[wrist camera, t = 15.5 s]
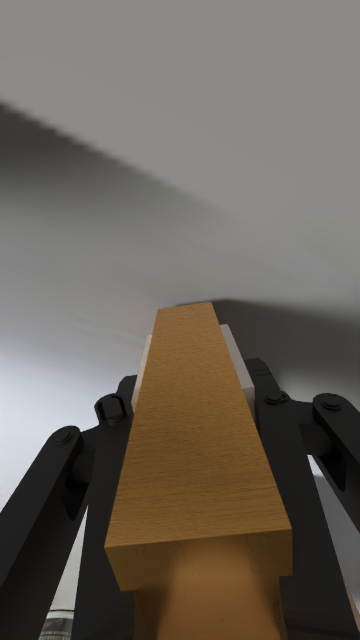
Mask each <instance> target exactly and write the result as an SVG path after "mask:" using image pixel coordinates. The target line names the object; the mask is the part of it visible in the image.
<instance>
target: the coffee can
mask: <svg viewBox="0 0 360 640" xmlns="http://www.w3.org/2000/svg"><path fill="white" fill-rule="evenodd" d="M73 616H74V611H65V610H57V611H49V612H48V615H47V618H46V620H45V623H44V626H43V628H42V631H41V634H40V637H39V639H38V640H70V638H71V631H72V623H73Z"/></svg>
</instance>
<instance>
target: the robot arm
mask: <svg viewBox="0 0 360 640" xmlns="http://www.w3.org/2000/svg"><path fill="white" fill-rule="evenodd" d="M220 328H221V331H222V333H223V336H224V339H225V342H226V345H227V347H228V350H229V353H230V356H231V359H232V362H233V364H234V367H235V370H236V373H237V376H238V378H239V381H240V384H241V387H242V390H243V392H244V395H245V398H246V401H247V404H248V407H249V409H250V412H251V415H252V418H253V421H254V423H255V426H256V429H257V432H258V435H259V437H260V440H261V443H262V446H263V449H264V451H265V454H266V457H267V460H268V463H269V466H270V468H271V471H272V474H273V477H274V480H275V482H276V485H277V488H278V491H279V494H280V496H281V499H282V502H283V505H284V508H285V511H286V513H287V516H288V519H289V522H290V525H291V527H292V567H293V575H290V576H279V601H280V628H281V640H360V632H359V630H358V627H357V624H356V621H355V618H354V614H353V611H352V608H351V604H350V601H349V597H348V594H347V590H346V587H345V583H344V580H343V577H342V573H341V570H340V566H339V563H338V559H337V556H336V553H335V549H334V546H333V542H332V539H331V535H330V532H329V528H328V525H327V522H326V518H325V515H324V511H323V508H322V504H321V501H320V498H319V494H318V491H317V487H316V484H315V480H314V477H313V473H312V470H311V467H310V463H309V460H308V456H307V455H312V457H313V459H314V460H315V462H316V464H317V465H318V467H319V468H320V470H321V472H322V473H323V475H324V476H325V478H326V480H327V481H328V483H329V485H330V486H331V488H332V489H333V491H334V493H335V494H336V496H337V497H338V499H339V501H340V502H341V504H342V506H343V507H344V509H345V510H346V512H347V514H348V515H349V517H350V518H351V520H352V522H353V523H354V525H355V527H356V528H357V530H358V531H359V533H360V412H359V411H358V410H357V409H356V408H355V407H354V406H353V405H352V404H351V403H350V402H349V401H348V400H346V399H345V398H344V397H341V396H339V395H336V394H331V393H322V394H319V395H316V396H315V397H314V398H313V403H310V402H301V401H295V400H292V399H291V398H290V397H289V395H288V394H287V393H285V392H284V391H281V390H280V388H279V386H278V385H277V383H276V381H275V379H274V377H273V376H272V374H271V372H270V370H269V369H268V367H267V365H266V363H265V362H263V361H262V360H260V359H259V358H256V359H248V360H243V359H242V357H241V354H240V352H239V349H238V347H237V345H236V342H235V340H234V338H233V335H232V333H231V330H230V328H229V326H228V324H223V325H220ZM151 339H152V335H148V336H147V340H146V344H145V348H144V352H143V356H142V360H141V364H140V368H139V372H138V375H132V376H125V377H124V378H123V379H122V381H121V382H120V383H119V386H118V390H117V392H116V393H113V394H109V395H106V396H104V397H102V398H100V399H99V400H98V401H97V402H96V404H95V406H94V408H95V411H96V414H97V417H98V420H99V425H98V426H96V427H94V428H91V429H88V430H86V431H83V432H80V429H79V428H78V427H76V426H66V427H63V428H61V429H58V430H57V431H56V432H54V433H53V434H52V435H51V436H50V437H49V438H48V440H47V441H46V443H45V444H44V446H43V447H42V449H41V451H40V452H39V454H38V455H37V457H36V458H35V460H34V461H33V463H32V465H31V466H30V468H29V469H28V471H27V472H26V474H25V475H24V477H23V479H22V480H21V482H20V483H19V485H18V486H17V488H16V489H15V491H14V493H13V494H12V496H11V497H10V499H9V500H8V502H7V503H6V505H5V506H4V508H3V510H2V511H1V513H0V640H38V639H39V637H40V634H41V631H42V628H43V626H44V623H45V620H46V618H47V615H48V612H49V609H50V607H51V604H52V601H53V599H54V596H55V593H56V590H57V588H58V585H59V582H60V579H61V577H62V574H63V571H64V569H65V566H66V563H67V560H68V558H69V555H70V552H71V550H72V547H73V544H74V541H75V539H76V536H77V533H78V531H79V528H80V525H81V522H82V520H83V517H84V514H85V511H86V509H87V506H88V511H87V518H86V526H85V533H84V541H83V548H82V556H81V563H80V571H79V578H78V586H77V593H76V601H75V608H74V616H73V623H72V631H71V638H70V640H152V639H151V636H150V633H149V631H148V628H147V625H146V622H145V620H144V617H143V614H142V611H141V608H140V606H139V603H138V600H137V597H136V595H135V592H134V590H127V591H121V590H120V587H119V585H118V582H117V580H116V577H115V575H114V572H113V569H112V567H111V564H110V562H109V559H108V556H107V554H106V551H105V549H104V546H105V541H106V537H107V532H108V528H109V524H110V519H111V515H112V510H113V506H114V502H115V497H116V493H117V488H118V484H119V480H120V475H121V471H122V466H123V462H124V458H125V453H126V449H127V444H128V440H129V435H130V431H131V427H132V422H133V418H134V413H135V409H136V405H137V400H138V396H139V391H140V387H141V383H142V378H143V374H144V369H145V365H146V361H147V356H148V352H149V347H150V343H151Z"/></svg>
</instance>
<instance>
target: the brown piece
mask: <svg viewBox="0 0 360 640" xmlns="http://www.w3.org/2000/svg"><path fill="white" fill-rule="evenodd" d="M104 549H105V551H106V554H107V556H108V559H109V562H110V564H111V567H112V569H113V572H114V575H115V577H116V580H117V582H118V585H119V587H120V590H121V591H127V590H134V592H135V595H136V597H137V600H138V603H139V606H140V608H141V611H142V614H143V617H144V620H145V622H146V625H147V628H148V631H149V633H150V636H151V639H152V640H281V628H280V601H279V576H290V575H293V567H292V527H291V525H290V522H289V519H288V516H287V513H286V511H285V508H284V505H283V502H282V499H281V496H280V494H279V491H278V488H277V485H276V482H275V480H274V477H273V474H272V471H271V468H270V466H269V463H268V460H267V457H266V454H265V451H264V449H263V446H262V443H261V440H260V437H259V435H258V432H257V429H256V426H255V423H254V421H253V418H252V415H251V412H250V409H249V407H248V404H247V401H246V398H245V395H244V392H243V390H242V387H241V384H240V381H239V378H238V376H237V373H236V370H235V367H234V364H233V362H232V359H231V356H230V353H229V350H228V347H227V345H226V342H225V339H224V336H223V333H222V331H221V328H220V325H219V322H218V319H217V317H216V314H215V311H214V308H213V305H212V303H211V302H205V303H198V304H191V305H184V306H177V307H170V308H163V309H158V312H157V317H156V321H155V325H154V330H153V334H152V339H151V343H150V347H149V352H148V356H147V361H146V365H145V369H144V374H143V378H142V383H141V387H140V391H139V396H138V400H137V405H136V409H135V413H134V418H133V422H132V427H131V431H130V435H129V440H128V444H127V449H126V453H125V458H124V462H123V466H122V471H121V475H120V480H119V484H118V488H117V493H116V497H115V502H114V506H113V510H112V515H111V519H110V524H109V528H108V532H107V537H106V541H105V546H104Z"/></svg>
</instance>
